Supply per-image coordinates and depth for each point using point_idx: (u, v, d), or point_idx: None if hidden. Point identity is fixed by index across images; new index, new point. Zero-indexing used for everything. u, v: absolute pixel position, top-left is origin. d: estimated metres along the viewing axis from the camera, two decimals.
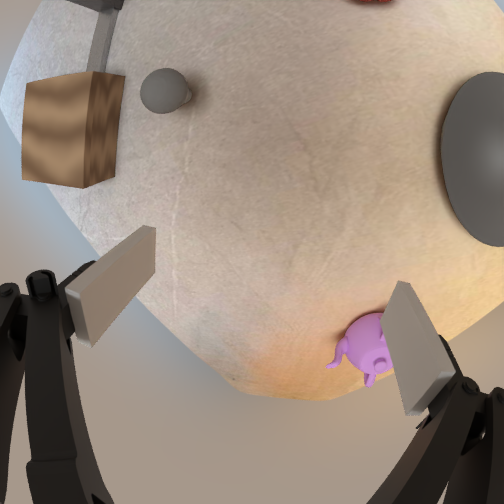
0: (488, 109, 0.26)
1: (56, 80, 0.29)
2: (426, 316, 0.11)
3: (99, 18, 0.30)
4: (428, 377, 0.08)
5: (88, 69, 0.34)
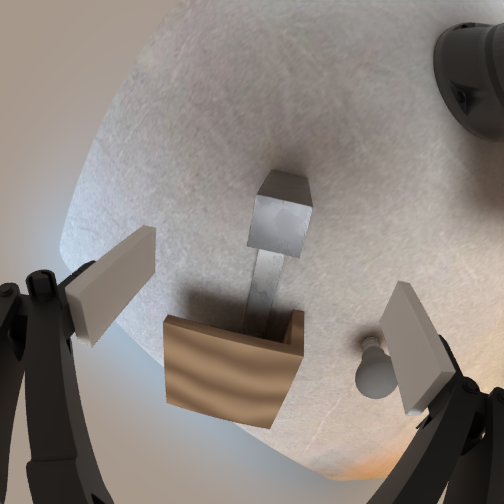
0: None
1: (234, 345, 0.31)
2: (426, 316, 0.11)
3: None
4: (428, 377, 0.08)
5: (252, 296, 0.36)
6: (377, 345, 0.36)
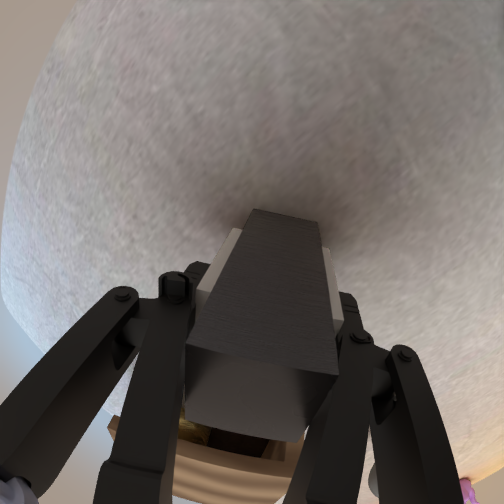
0: None
1: (203, 464, 0.18)
2: (334, 274, 0.13)
3: None
4: None
5: None
6: None
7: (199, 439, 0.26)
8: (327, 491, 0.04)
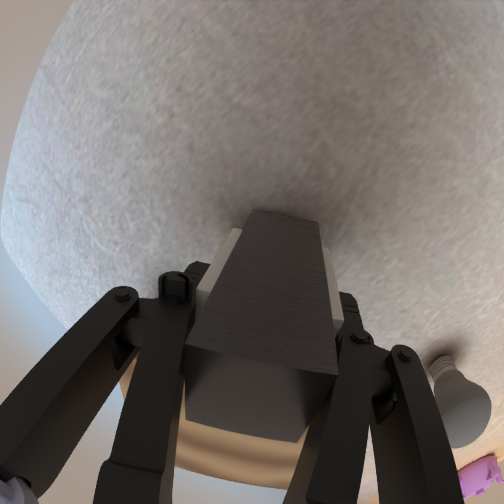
0: None
1: None
2: (334, 274, 0.13)
3: None
4: None
5: None
6: (455, 368, 0.20)
7: None
8: (327, 491, 0.04)
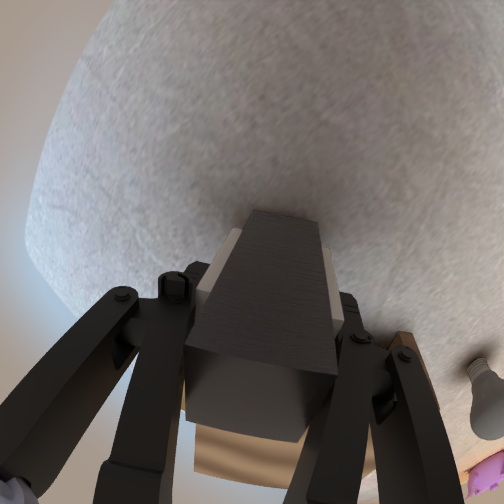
0: None
1: None
2: (334, 274, 0.13)
3: None
4: None
5: None
6: (489, 369, 0.20)
7: None
8: (327, 491, 0.04)
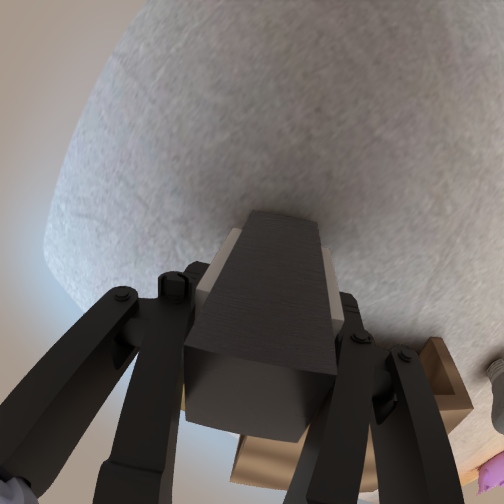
0: None
1: None
2: (334, 274, 0.13)
3: None
4: None
5: None
6: None
7: None
8: (327, 491, 0.04)
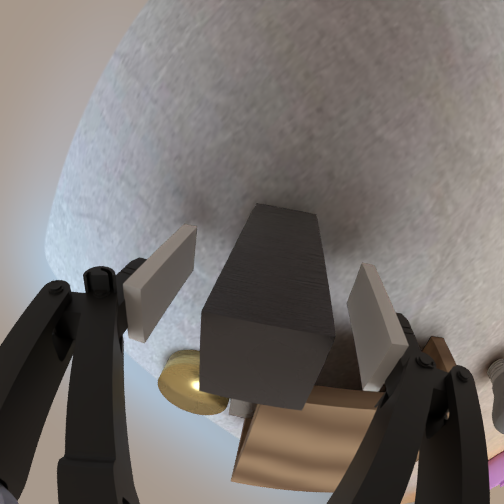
0: None
1: None
2: (386, 294, 0.12)
3: None
4: (381, 350, 0.10)
5: None
6: None
7: None
8: (370, 503, 0.04)
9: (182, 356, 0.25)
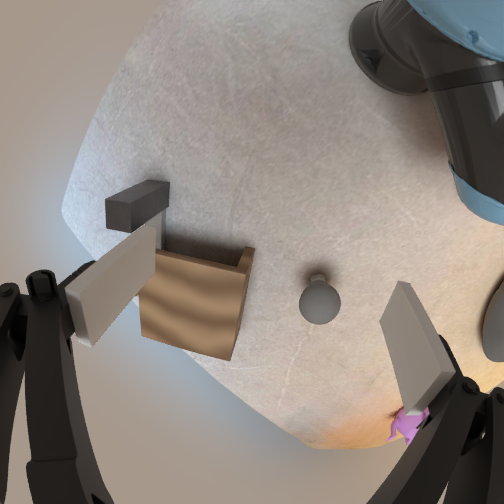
0: None
1: (190, 265, 0.39)
2: (426, 316, 0.11)
3: None
4: (428, 377, 0.08)
5: None
6: (322, 279, 0.44)
7: None
8: None
9: None
